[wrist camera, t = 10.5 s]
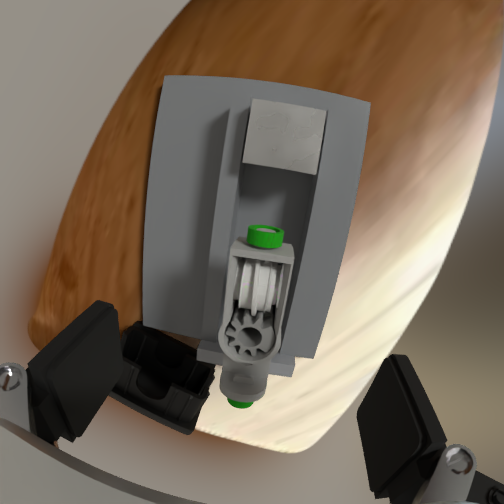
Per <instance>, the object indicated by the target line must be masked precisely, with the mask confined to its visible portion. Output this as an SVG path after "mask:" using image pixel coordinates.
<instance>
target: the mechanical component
mask: <svg viewBox="0 0 504 504" xmlns="http://www.w3.org/2000/svg"><path fill="white" fill-rule="evenodd" d="M283 236H284V230H282V229H280V228H277V227H273V226H268V225H250V226H248V233H247V238H246V237H238V239H236V240H235V241H234V243H233V244H232V246H231V248H230V256H229V265H228V275H227V284H226V294H225V304H224V314H223V322H222V325H221V327H220V330H219V333H218V340H219V344H220V347H221V349H222V350H223V352H224V357H223V367H222V373H221V377H220V390H221V392H222V393H223V395H225V396H226V397H227V400H228V402H229V403H230V404H231V405H232V406H233V407H236V408H241V409H242V408H248V407H250V406H251V405H252V404H253V402H254V401H257V400H259V399H260V398H262V397H263V395H264V394H265V390H266V386H267V377H268V373H269V368H270V363H271V359H272V358H273V357H274V356H275V355H276V354H277V353H278V351H279V349H280V345H281V326H282V321H283V316H284V311H285V306H286V301H287V296H288V290H289V285H290V280H291V274H292V269H293V263H294V258H295V257H294V251H293V247H292V244H286V243H282V242H283Z"/></svg>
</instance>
